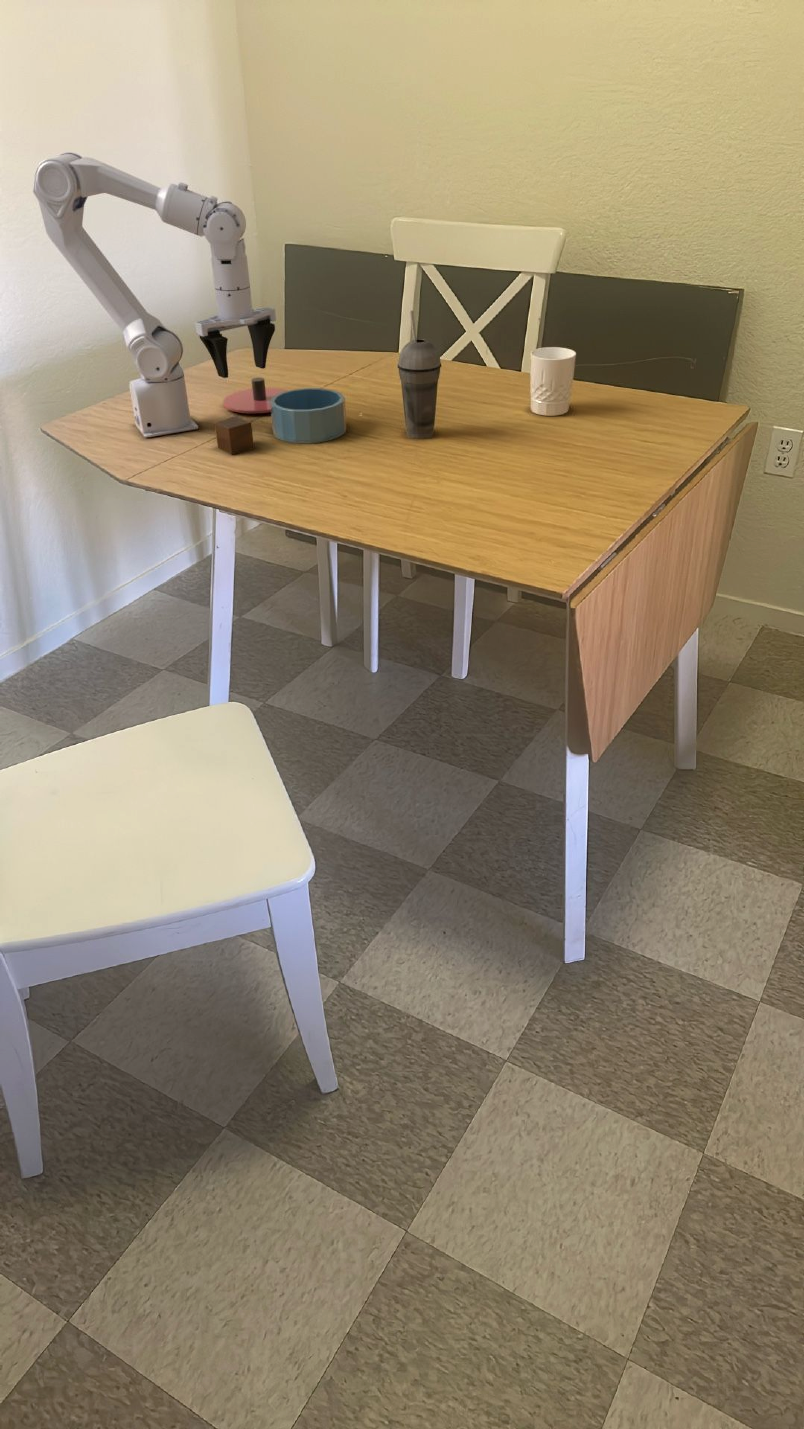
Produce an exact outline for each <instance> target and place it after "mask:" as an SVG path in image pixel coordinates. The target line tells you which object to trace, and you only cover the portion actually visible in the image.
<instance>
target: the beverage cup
mask: <svg viewBox="0 0 804 1429" xmlns="http://www.w3.org/2000/svg"><path fill="white" fill-rule="evenodd" d="M409 314H410V322H411V331H412V332H411V333H412V340H410V341H409V342H408V343H406V344H405V345H404V346H403V347H402V349H401V351H400V353H399V356H398V361H397V369H398V375H399V380H400V383H401V384H400V386H401V393H402V401H403V402H402V403H403V414H404V422H405V429H406V436H407V437H408V438H410V439H415V440H423V439H424V440H425V439H429V438H431V437H433V436H434V429H435V422H436V409H437V397H438V386H439V385H438V384H439V379H440V375H441V368H442V362H441V357H440V356H441V355H440V354H439V351H438V349H437V348H436V346H435V345H434V344H433V343H432V342H430V341H429V340H426V339H424V338H418V337H417V332H416V323H415V315H414V311H413V310H410V311H409Z"/></svg>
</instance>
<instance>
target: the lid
mask: <svg viewBox="0 0 804 1429" xmlns="http://www.w3.org/2000/svg"><path fill="white" fill-rule="evenodd" d="M250 381H251V387H252V388H248V389H243V390H239V391H236V392H233V393H230V394H228V395H227V396H226V397H224V398H223V401H222V403H223V404H222V405H223V406H224V408H225V409H227V410H229V411H232V412H236V413H239V414H240V413H241V414H266V413H271V409H270V400H271V399H272V397H273V396H275V395H277V394H279V393H281V392H285V391H289V390H287V389H284V388H279V387H278V388H276V387H266V381H265V378H264V377H261V376H260V377H258V376H257V377H253V378H251V380H250Z"/></svg>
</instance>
